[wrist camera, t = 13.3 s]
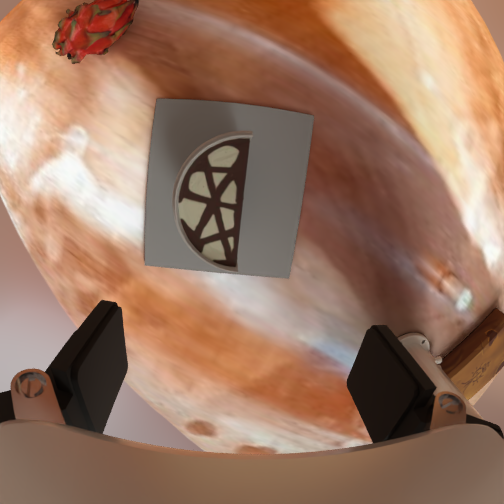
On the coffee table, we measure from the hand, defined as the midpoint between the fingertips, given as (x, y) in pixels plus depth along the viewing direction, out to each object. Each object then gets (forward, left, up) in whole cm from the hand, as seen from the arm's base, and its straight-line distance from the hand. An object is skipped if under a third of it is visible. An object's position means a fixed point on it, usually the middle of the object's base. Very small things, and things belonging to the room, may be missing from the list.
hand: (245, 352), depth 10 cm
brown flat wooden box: (-55, +26, -25) cm, 66 cm away
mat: (+1, -3, -25) cm, 25 cm away
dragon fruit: (+19, -23, -25) cm, 39 cm away
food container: (+3, -3, -24) cm, 24 cm away
